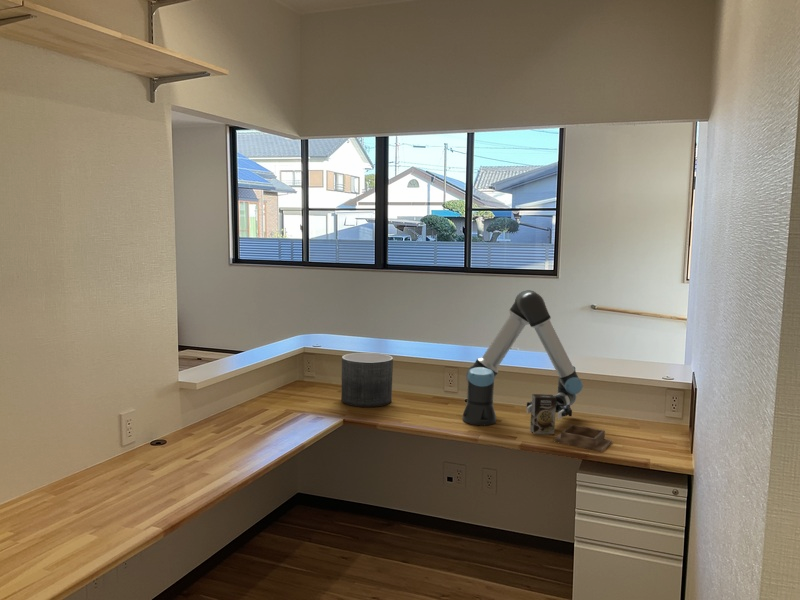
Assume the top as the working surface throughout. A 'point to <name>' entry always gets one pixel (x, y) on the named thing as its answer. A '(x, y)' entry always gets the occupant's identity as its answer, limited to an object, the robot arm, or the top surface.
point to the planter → (367, 379)
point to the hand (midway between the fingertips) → (542, 413)
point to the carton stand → (584, 438)
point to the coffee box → (543, 414)
